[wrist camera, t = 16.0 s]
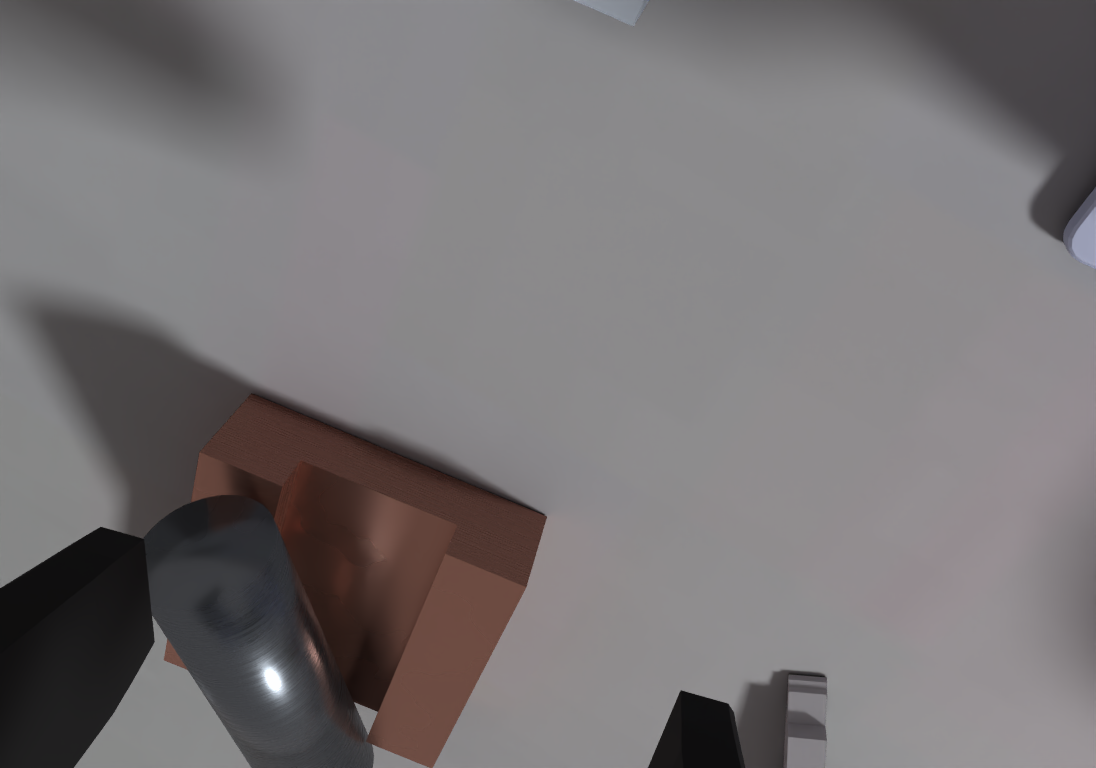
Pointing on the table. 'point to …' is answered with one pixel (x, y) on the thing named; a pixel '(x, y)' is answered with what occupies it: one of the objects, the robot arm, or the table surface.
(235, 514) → the axle
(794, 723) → the caliper
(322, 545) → the v block
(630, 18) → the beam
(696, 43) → the table surface
